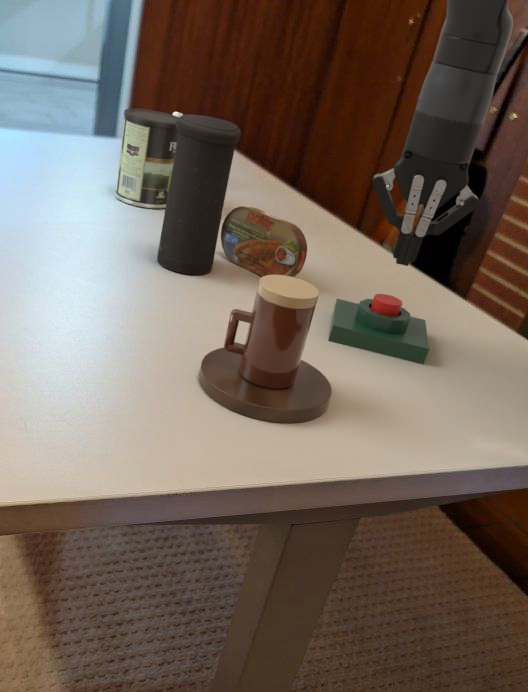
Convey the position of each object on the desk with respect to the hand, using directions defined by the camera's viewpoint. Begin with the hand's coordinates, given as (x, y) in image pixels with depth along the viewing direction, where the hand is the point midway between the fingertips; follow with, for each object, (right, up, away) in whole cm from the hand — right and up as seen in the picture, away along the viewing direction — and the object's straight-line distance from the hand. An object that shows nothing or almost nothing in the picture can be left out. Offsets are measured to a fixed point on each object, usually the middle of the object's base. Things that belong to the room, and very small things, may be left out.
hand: (402, 263), depth 92 cm
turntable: (-18, -16, -12) cm, 27 cm away
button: (-1, -5, +3) cm, 7 cm away
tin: (-16, +3, +20) cm, 26 cm away
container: (-27, +3, +16) cm, 32 cm away
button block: (-2, -8, +5) cm, 10 cm away
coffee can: (-34, +21, +41) cm, 58 cm away
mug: (-19, -15, -13) cm, 27 cm away
